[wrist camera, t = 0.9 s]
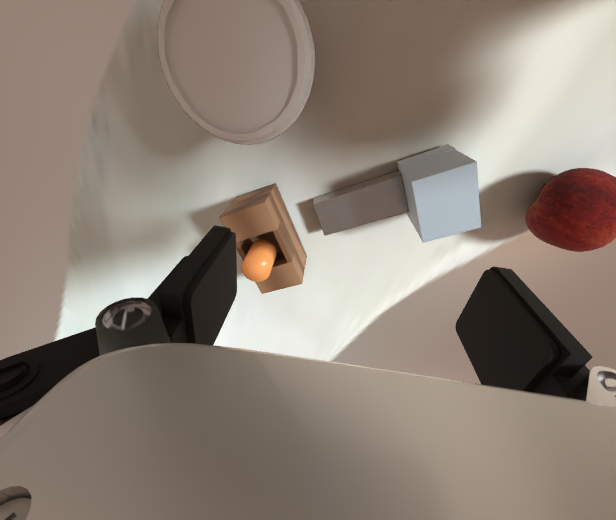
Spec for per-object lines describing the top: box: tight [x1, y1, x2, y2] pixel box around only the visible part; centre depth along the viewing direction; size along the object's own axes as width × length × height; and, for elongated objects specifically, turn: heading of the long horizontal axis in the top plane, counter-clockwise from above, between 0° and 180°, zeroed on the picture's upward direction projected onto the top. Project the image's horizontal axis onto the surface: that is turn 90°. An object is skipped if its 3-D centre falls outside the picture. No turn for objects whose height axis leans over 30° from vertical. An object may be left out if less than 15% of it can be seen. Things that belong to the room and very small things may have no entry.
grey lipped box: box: [397, 145, 481, 242], centre depth 28 cm, size 5×6×7 cm
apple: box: [526, 168, 616, 252], centre depth 27 cm, size 7×8×8 cm
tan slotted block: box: [219, 183, 307, 294], centre depth 33 cm, size 5×10×6 cm, turn 20°
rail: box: [313, 170, 409, 236], centre depth 31 cm, size 15×4×2 cm, turn 110°
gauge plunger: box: [241, 240, 277, 282], centre depth 29 cm, size 3×3×4 cm
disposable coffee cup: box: [158, 0, 315, 145], centre depth 22 cm, size 10×10×12 cm
